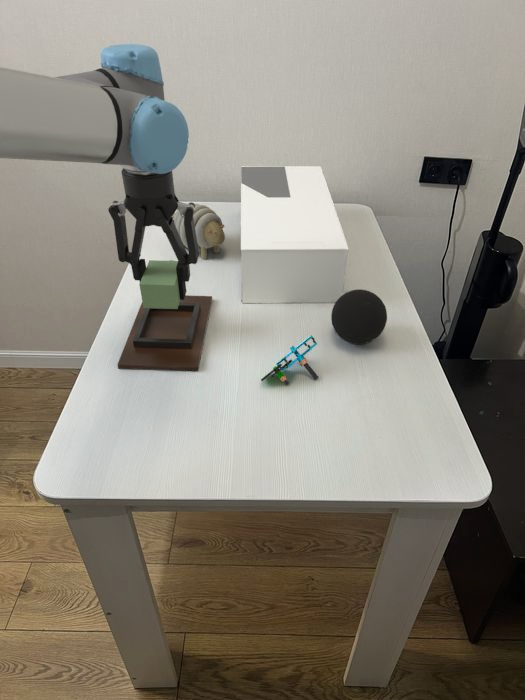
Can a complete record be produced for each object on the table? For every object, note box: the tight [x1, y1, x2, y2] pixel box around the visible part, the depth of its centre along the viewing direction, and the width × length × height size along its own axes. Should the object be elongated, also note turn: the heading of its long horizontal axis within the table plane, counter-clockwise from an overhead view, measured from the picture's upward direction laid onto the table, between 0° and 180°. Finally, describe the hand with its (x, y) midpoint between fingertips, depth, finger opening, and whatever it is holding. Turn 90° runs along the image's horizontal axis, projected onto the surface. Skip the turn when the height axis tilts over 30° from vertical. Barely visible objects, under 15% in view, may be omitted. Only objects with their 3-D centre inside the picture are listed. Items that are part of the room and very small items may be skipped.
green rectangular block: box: [138, 259, 180, 309], centre depth 87 cm, size 8×6×5 cm
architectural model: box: [240, 165, 350, 304], centre depth 115 cm, size 45×21×12 cm, turn 2°
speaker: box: [330, 289, 388, 345], centre depth 89 cm, size 10×10×10 cm
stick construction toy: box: [260, 335, 319, 386], centre depth 83 cm, size 12×7×8 cm
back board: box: [117, 295, 213, 372], centre depth 93 cm, size 22×14×2 cm, turn 178°
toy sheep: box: [172, 203, 226, 260], centre depth 115 cm, size 11×17×11 cm, turn 52°
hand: (164, 294), depth 88 cm, fingers closed on green rectangular block, 6 cm apart
